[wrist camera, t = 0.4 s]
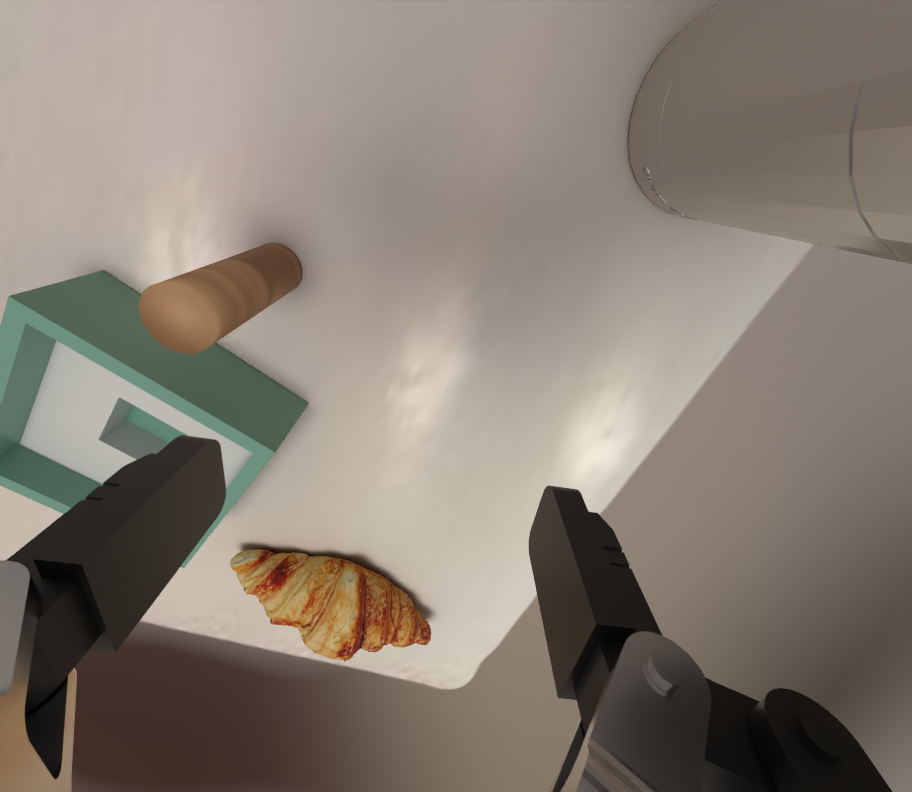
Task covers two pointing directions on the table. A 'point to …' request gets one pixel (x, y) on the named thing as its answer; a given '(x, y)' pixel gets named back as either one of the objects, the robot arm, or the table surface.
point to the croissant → (331, 602)
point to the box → (120, 396)
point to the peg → (217, 297)
